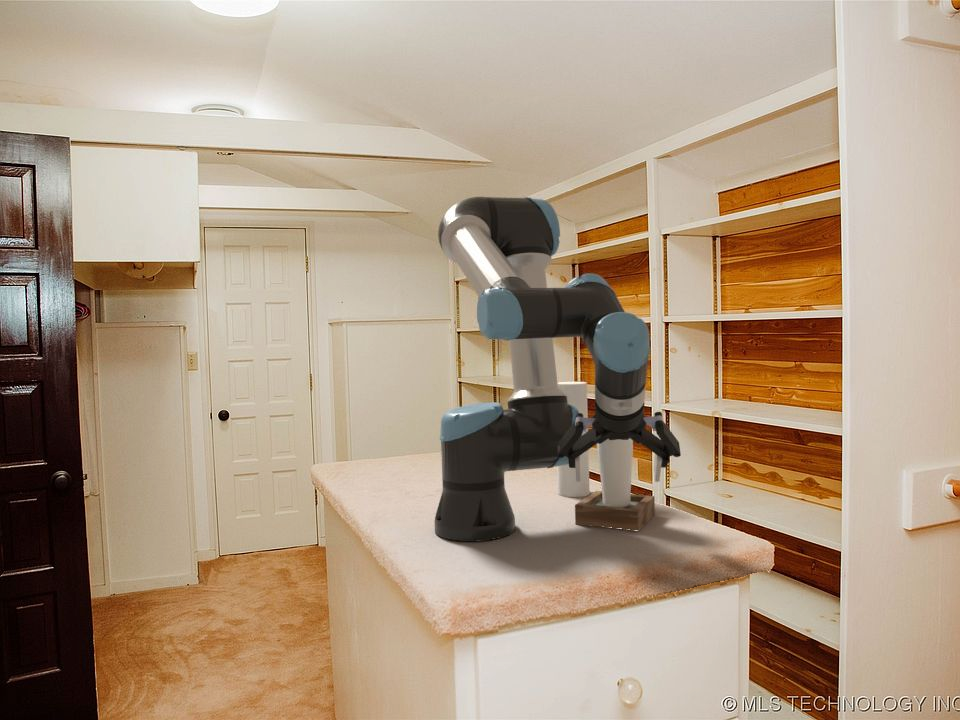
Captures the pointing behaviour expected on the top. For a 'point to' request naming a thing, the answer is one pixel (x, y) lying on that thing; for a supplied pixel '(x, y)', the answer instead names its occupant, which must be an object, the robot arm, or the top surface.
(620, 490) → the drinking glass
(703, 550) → the top surface
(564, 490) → the cylindrical container
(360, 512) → the top surface
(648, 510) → the wooden tray
